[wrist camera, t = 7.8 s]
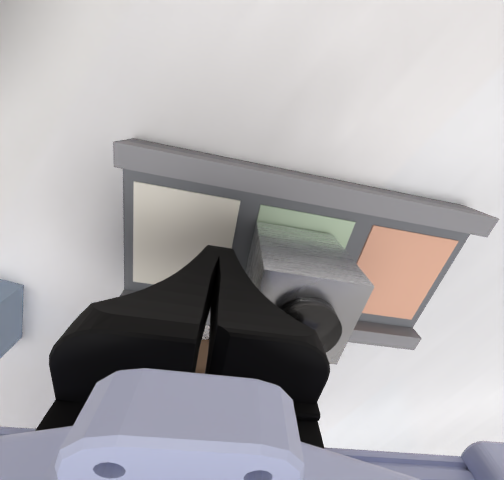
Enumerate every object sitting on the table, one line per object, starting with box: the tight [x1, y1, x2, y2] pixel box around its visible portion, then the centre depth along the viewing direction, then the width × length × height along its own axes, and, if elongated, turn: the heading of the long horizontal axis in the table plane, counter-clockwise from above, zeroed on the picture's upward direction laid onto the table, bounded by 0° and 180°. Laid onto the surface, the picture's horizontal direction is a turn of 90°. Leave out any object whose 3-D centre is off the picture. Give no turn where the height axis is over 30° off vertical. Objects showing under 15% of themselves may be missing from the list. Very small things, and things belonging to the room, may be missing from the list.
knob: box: [245, 221, 375, 364], centre depth 11 cm, size 4×4×5 cm
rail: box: [113, 138, 499, 350], centre depth 14 cm, size 9×18×2 cm, turn 78°
